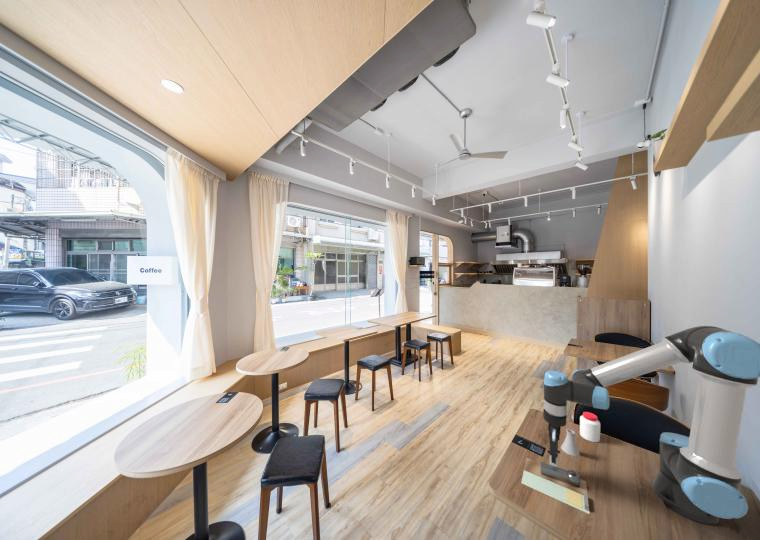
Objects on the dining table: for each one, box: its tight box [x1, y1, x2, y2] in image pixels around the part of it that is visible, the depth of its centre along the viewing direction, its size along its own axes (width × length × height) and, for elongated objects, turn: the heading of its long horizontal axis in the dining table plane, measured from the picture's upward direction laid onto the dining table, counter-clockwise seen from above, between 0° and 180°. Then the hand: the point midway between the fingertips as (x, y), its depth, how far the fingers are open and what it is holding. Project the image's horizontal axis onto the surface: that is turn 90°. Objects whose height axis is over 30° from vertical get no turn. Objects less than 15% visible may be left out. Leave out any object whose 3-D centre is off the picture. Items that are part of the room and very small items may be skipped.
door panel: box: [521, 469, 591, 515], centre depth 93 cm, size 20×8×3 cm, turn 54°
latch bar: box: [540, 461, 581, 487], centre depth 98 cm, size 12×4×4 cm, turn 62°
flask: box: [560, 428, 581, 457], centre depth 113 cm, size 7×7×10 cm
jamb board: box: [523, 457, 589, 497], centre depth 99 cm, size 20×8×1 cm, turn 54°
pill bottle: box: [579, 411, 601, 443], centre depth 124 cm, size 8×8×11 cm
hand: (553, 468), depth 101 cm, fingers closed
